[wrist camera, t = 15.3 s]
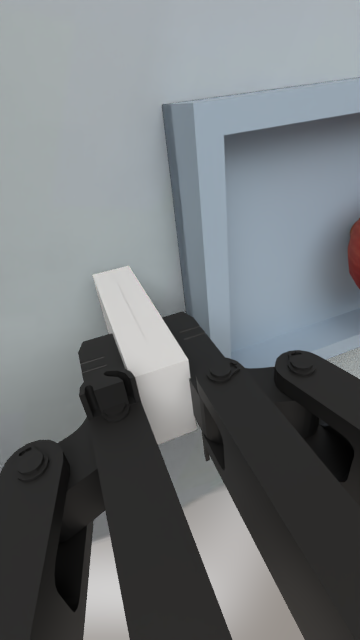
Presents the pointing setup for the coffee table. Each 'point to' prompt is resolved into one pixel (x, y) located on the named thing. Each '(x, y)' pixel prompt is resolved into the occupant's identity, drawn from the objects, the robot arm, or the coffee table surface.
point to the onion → (354, 253)
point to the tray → (269, 217)
